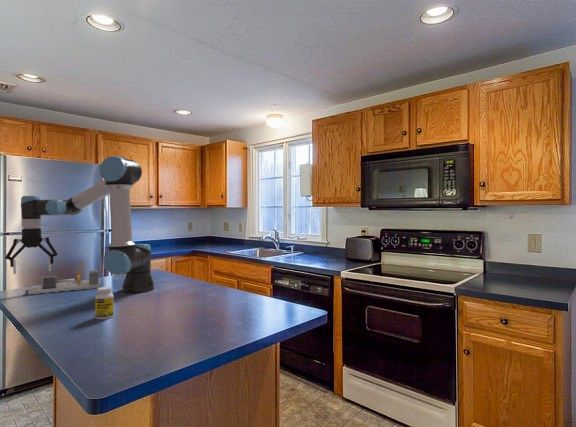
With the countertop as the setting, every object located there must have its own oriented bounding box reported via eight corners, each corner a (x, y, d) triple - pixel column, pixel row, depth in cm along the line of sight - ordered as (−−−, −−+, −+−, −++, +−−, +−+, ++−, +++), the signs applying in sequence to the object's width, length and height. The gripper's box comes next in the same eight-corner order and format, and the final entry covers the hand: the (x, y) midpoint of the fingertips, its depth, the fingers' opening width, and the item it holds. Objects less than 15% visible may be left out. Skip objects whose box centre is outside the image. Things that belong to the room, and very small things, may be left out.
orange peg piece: (80, 280, 187) (80, 271, 187) (80, 281, 185) (80, 271, 184) (76, 280, 186) (76, 271, 186) (77, 281, 184) (77, 272, 184)
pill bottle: (94, 320, 129) (94, 290, 129) (95, 316, 134) (95, 287, 134) (113, 318, 132) (113, 289, 131) (113, 314, 137) (113, 285, 137)
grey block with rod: (74, 281, 185) (74, 272, 185) (74, 285, 177) (74, 275, 177) (42, 284, 178) (42, 274, 178) (41, 288, 170) (41, 278, 170)
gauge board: (98, 283, 192) (98, 268, 192) (100, 287, 181) (100, 272, 181) (30, 289, 176) (30, 273, 176) (28, 295, 165) (28, 278, 165)
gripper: (62, 226, 179) (63, 268, 179) (-1, 228, 166) (0, 273, 166) (62, 227, 173) (63, 270, 173) (-4, 229, 159) (-2, 276, 160)
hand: (32, 272), depth 170 cm, fingers open, 13 cm apart
